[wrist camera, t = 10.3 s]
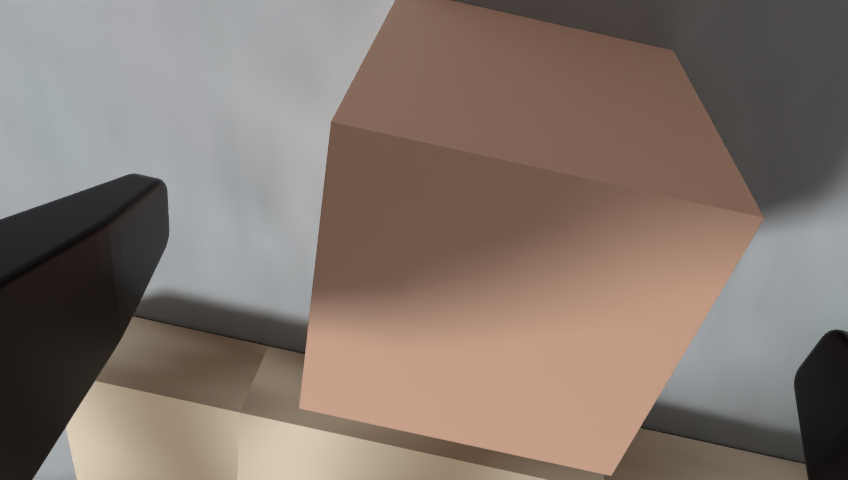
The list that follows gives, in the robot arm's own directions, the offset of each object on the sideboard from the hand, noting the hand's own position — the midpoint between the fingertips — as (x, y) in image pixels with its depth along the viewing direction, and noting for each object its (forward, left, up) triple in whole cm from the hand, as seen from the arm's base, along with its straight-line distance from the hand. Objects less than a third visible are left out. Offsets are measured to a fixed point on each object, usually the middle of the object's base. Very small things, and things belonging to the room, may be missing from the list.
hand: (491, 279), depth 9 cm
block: (0, 0, -4) cm, 4 cm away
